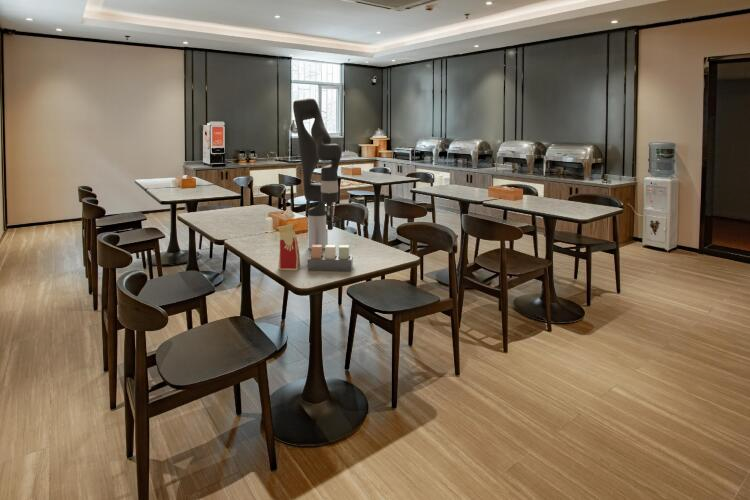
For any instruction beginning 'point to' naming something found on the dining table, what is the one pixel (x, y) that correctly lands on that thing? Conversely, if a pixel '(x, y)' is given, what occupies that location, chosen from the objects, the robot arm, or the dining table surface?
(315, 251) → the terracotta key
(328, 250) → the ivory key
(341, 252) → the sage key
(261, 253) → the dining table surface
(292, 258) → the milk carton
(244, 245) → the dining table surface
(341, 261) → the frame
